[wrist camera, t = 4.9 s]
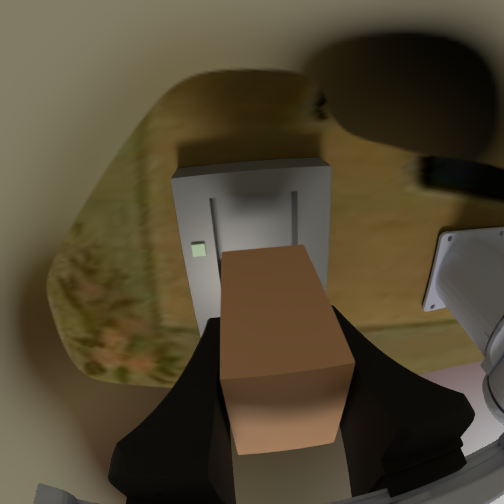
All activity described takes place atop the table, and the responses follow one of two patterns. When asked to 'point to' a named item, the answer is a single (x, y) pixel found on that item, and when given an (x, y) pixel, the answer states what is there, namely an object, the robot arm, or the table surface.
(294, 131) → the table surface
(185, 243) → the grey slotted tray
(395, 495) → the robot arm
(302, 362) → the tan rectangular block
